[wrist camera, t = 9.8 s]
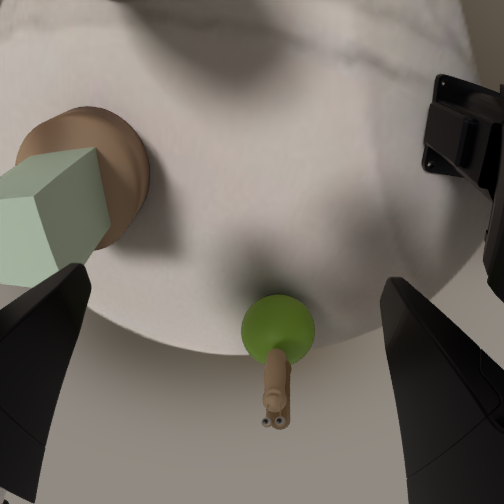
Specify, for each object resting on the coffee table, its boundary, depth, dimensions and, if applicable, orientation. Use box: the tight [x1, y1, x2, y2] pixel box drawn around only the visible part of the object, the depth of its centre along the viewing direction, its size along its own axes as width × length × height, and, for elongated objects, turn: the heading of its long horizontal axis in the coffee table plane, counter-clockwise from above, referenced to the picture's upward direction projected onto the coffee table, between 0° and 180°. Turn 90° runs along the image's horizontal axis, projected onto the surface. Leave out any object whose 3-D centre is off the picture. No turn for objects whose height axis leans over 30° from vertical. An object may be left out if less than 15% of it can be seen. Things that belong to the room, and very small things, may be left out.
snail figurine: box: [241, 295, 315, 430], centre depth 21 cm, size 5×6×12 cm
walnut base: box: [15, 106, 150, 250], centre depth 18 cm, size 9×9×3 cm
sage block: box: [0, 147, 111, 288], centre depth 15 cm, size 5×5×6 cm
